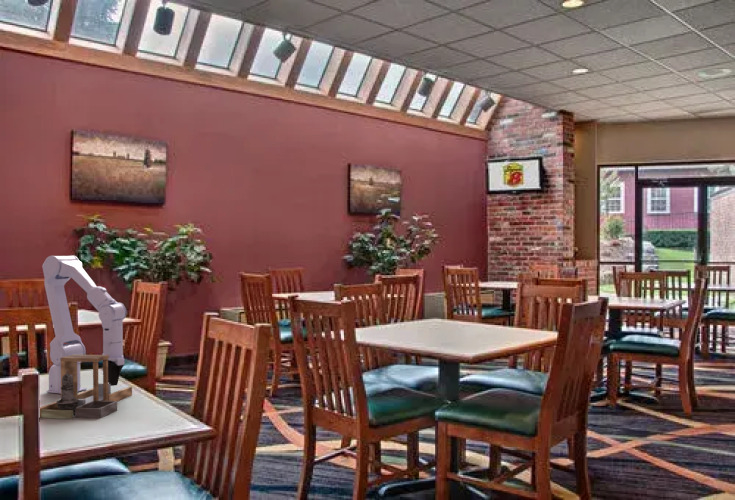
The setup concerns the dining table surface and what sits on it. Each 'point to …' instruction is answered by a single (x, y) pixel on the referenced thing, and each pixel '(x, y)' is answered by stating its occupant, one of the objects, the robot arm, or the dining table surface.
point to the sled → (89, 399)
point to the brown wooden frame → (94, 407)
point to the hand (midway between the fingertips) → (113, 385)
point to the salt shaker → (67, 394)
